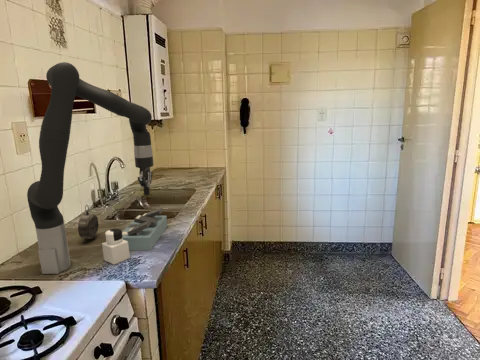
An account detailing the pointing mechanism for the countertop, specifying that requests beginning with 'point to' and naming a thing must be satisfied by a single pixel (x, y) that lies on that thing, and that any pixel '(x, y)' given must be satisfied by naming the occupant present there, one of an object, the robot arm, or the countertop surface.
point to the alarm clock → (88, 225)
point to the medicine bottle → (115, 247)
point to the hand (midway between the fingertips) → (147, 194)
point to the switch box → (145, 234)
